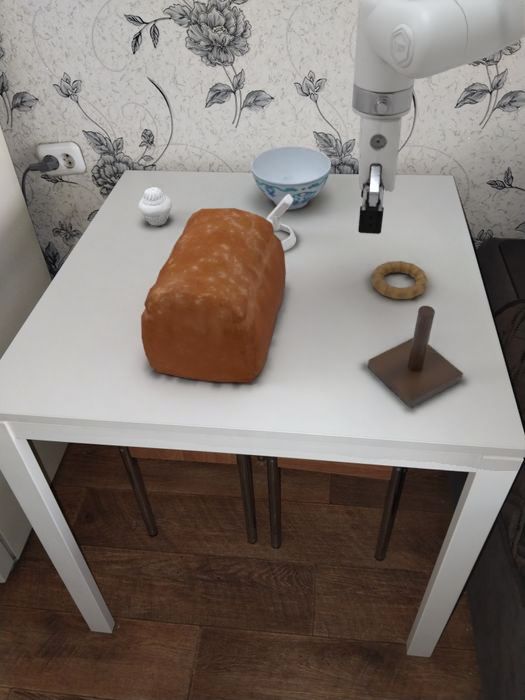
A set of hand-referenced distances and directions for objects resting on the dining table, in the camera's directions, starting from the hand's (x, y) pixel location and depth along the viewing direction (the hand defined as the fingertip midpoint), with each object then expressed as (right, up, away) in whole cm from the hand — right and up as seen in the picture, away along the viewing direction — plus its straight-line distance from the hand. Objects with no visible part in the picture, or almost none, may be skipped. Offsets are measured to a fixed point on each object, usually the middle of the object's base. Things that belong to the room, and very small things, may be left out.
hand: (370, 214), depth 87 cm
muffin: (-36, +4, +25) cm, 44 cm away
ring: (+6, -9, +8) cm, 13 cm away
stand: (+5, -23, -6) cm, 25 cm away
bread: (-22, -16, +3) cm, 28 cm away
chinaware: (-10, +9, +29) cm, 32 cm away
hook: (-14, -1, +19) cm, 23 cm away
